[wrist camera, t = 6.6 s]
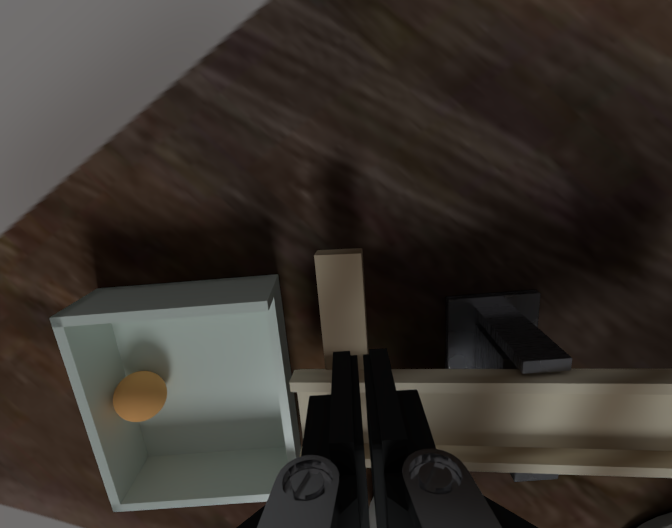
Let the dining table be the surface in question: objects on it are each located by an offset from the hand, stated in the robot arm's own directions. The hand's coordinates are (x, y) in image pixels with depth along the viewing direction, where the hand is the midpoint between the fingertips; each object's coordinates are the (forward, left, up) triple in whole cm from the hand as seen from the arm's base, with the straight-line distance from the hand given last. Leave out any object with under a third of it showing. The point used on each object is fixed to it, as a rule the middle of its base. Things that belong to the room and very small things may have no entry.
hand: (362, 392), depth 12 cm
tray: (-7, +10, -14) cm, 19 cm away
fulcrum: (-7, -9, -14) cm, 18 cm away
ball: (-7, +14, -12) cm, 20 cm away
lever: (-4, -8, -8) cm, 12 cm away
